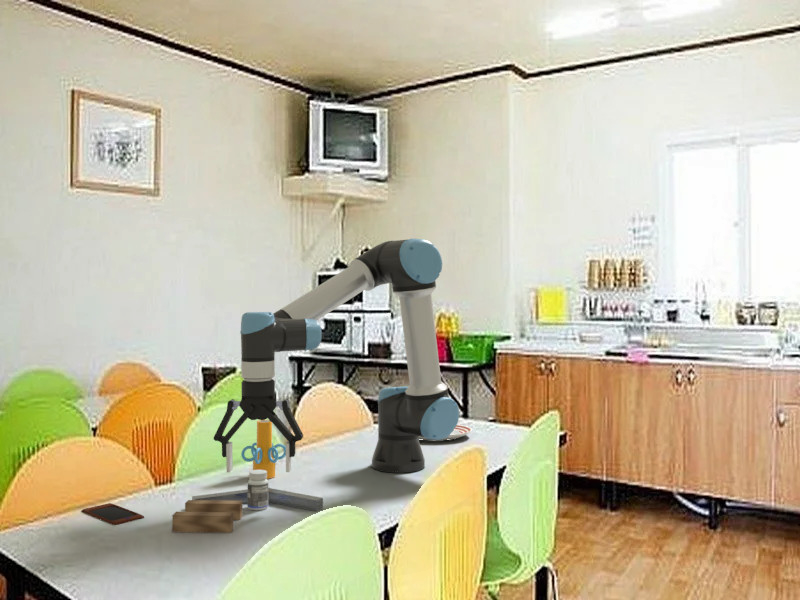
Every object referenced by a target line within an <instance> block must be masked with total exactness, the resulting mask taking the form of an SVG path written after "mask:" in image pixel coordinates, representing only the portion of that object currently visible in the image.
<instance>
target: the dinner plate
mask: <svg viewBox="0 0 800 600" xmlns="http://www.w3.org/2000/svg"><path fill="white" fill-rule="evenodd" d="M454 429H455V430H458V431H459V432H460V434H452V435H449V436H448V437H446V438H444V439H441V440H447V439H454V440H456V439H455V438H457V439H459V438H461V437H464V436H466V435H468V434H471V432H472V431H473V428H472V427H470V426H466V425H464V424H463V425H462V424H457V426H456V427H455V428H454ZM419 439H423V440H435V439H426V438H424V437H421V436H419Z"/></svg>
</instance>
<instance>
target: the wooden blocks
mask: <svg viewBox="0 0 800 600" xmlns="http://www.w3.org/2000/svg"><path fill="white" fill-rule="evenodd" d="M171 517H172V520H171V522H172V526H171V527H172V528H171V529H172V533H203V534H205V533H209V534H210V533H211V534H212V533H213V534H215V533H216V534H222V533H223V534H230V533H231V532H232V531H233V529H234V521H240V520H241V519H242V518H243V504H242V501H227V500H192V499H188V500H187V501H186V502H185V503H184V511H175V512H174V513H173V514H172V515H171Z"/></svg>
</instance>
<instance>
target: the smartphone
mask: <svg viewBox="0 0 800 600" xmlns="http://www.w3.org/2000/svg"><path fill="white" fill-rule="evenodd" d="M81 513H84V514H86V515H87V516H91V517H92V518H95V517H96V519H98V520H100V519H101V521H103V522H105V523H108V524H110V525H113V526H118V525H121V524H126V523H130V522H131V523H132V522H135V521H139V520H142V519H145V516H144V515H143V514H141V513H138V512H135V511H133V510H131V509H127V508H124V507H122V506H120V505H117V504H114V503H111V502H109V503H104V504H100V505H94V506H90V507H86V508H83V509H81Z"/></svg>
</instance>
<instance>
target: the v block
mask: <svg viewBox="0 0 800 600" xmlns="http://www.w3.org/2000/svg"><path fill="white" fill-rule="evenodd" d="M191 500H227V501H242V505H243V504H248V488H247V489H239V490H233V491H231V490H230V491H226V492H225V491H224V492H217V493H210V494H209V493H208V494H200V495H193V496H191ZM268 503H272V504H276V505H282V506H287V507H293V508H297V509H302V510H307V511H313V512H318V511H320V510H323V509H324V508H323V507H324V498H323V497H321V496H315V495H309V494H305V493H304V494H303V493H298V492H294V491H293V492H292V491H287V490H282V489H276V488H271V487H268Z"/></svg>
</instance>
